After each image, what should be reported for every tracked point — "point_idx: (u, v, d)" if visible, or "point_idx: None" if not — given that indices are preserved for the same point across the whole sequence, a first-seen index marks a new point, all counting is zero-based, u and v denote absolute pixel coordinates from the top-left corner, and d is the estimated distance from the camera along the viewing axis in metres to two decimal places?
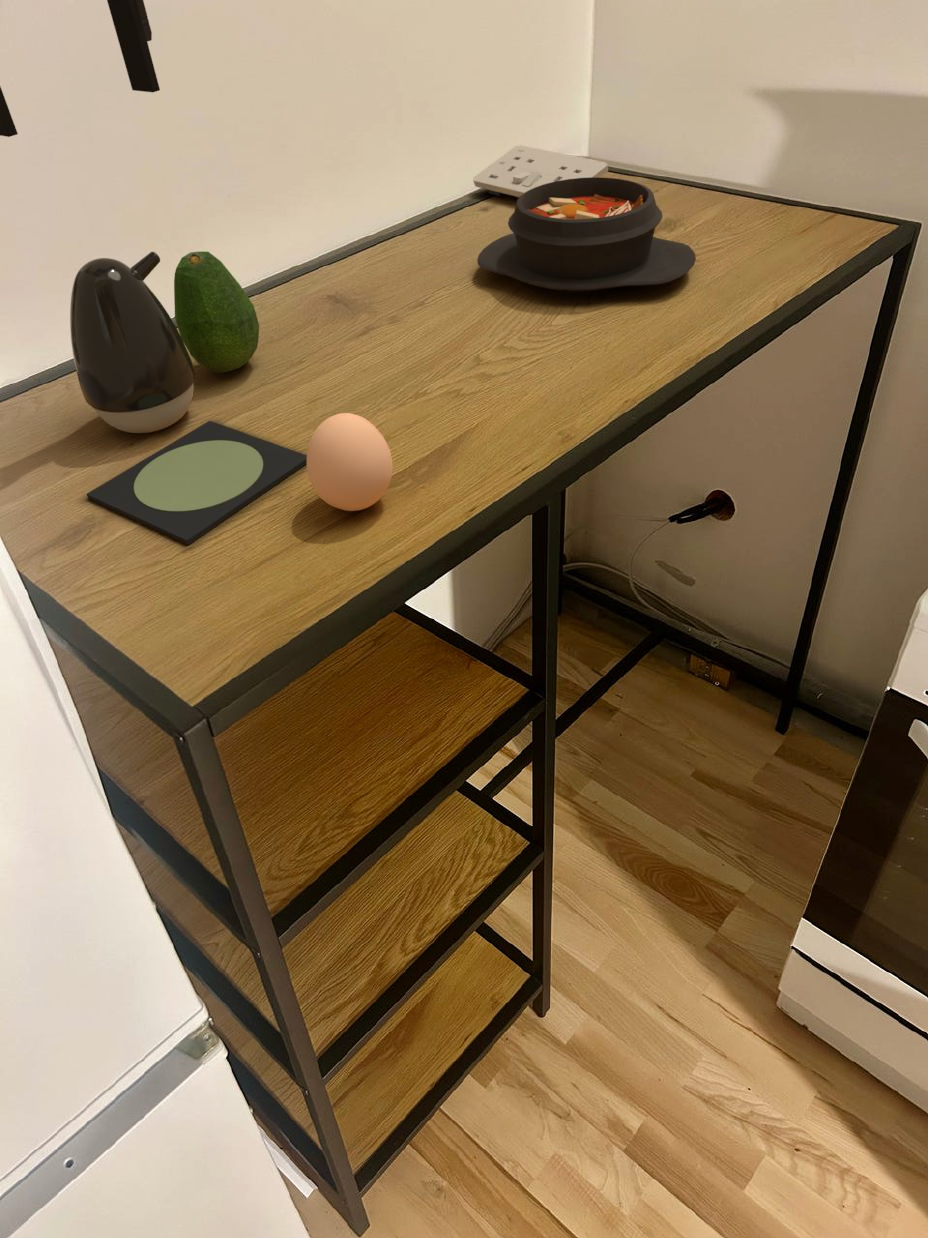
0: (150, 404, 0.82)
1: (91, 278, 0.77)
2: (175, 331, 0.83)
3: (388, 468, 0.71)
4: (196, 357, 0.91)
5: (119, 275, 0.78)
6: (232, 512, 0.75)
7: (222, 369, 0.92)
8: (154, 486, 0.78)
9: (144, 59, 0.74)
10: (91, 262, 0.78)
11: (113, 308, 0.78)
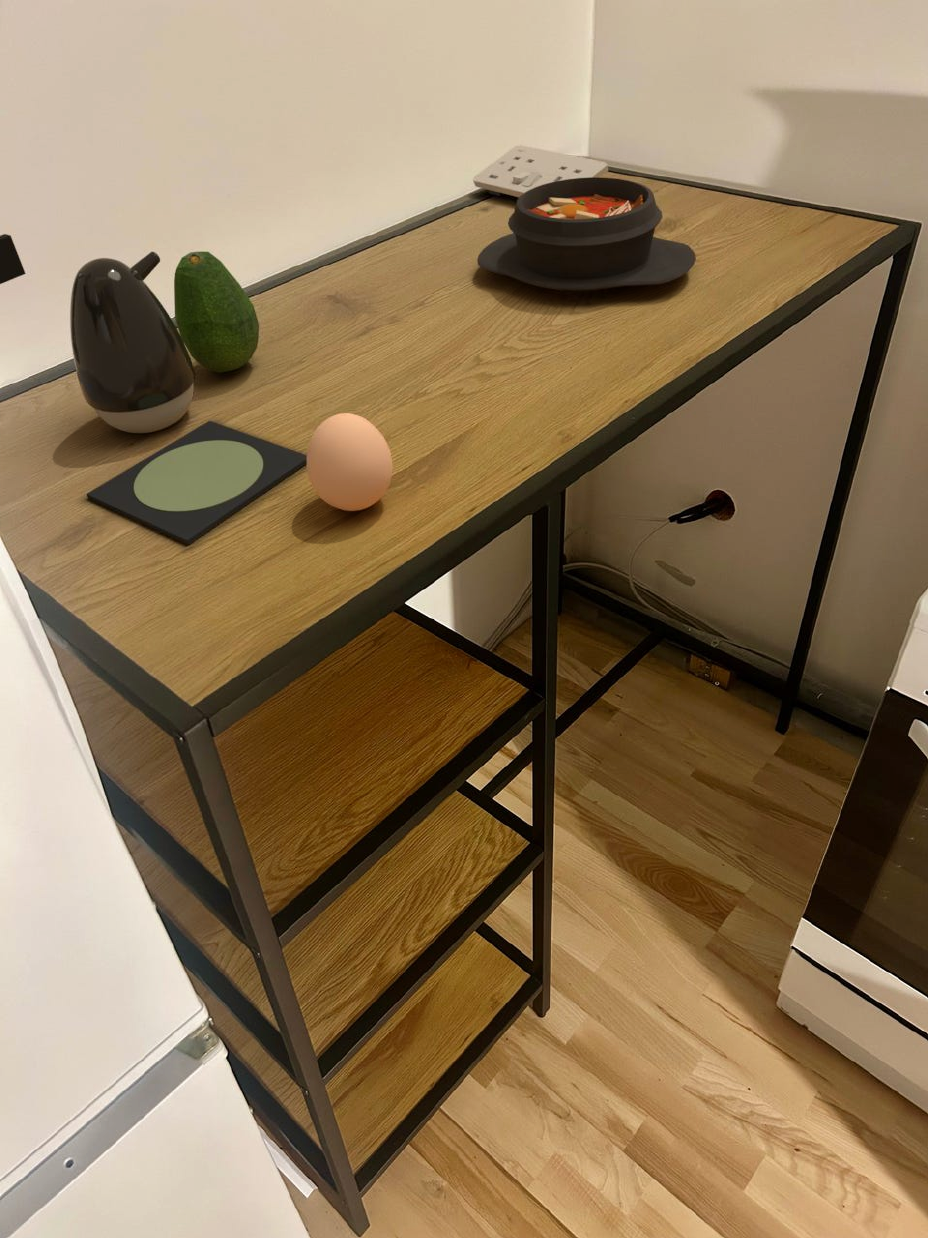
0: (150, 404, 0.82)
1: (91, 278, 0.77)
2: (175, 331, 0.83)
3: (388, 468, 0.71)
4: (196, 357, 0.91)
5: (119, 275, 0.78)
6: (232, 512, 0.75)
7: (222, 369, 0.92)
8: (154, 486, 0.78)
9: None
10: (91, 262, 0.78)
11: (113, 308, 0.78)
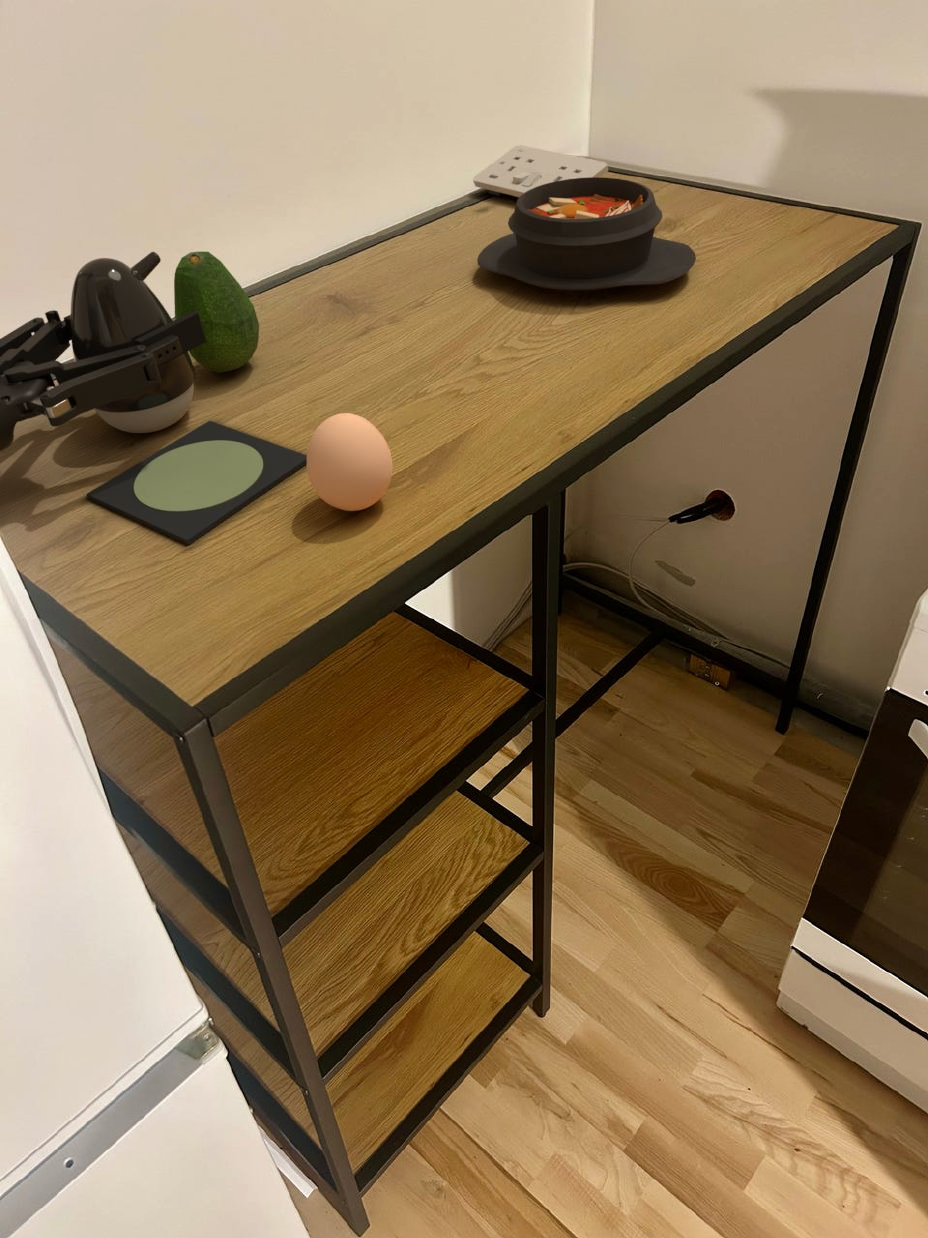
0: (150, 404, 0.82)
1: (91, 278, 0.77)
2: None
3: (388, 468, 0.71)
4: (196, 357, 0.91)
5: (119, 275, 0.78)
6: (232, 512, 0.75)
7: (222, 369, 0.92)
8: (154, 486, 0.78)
9: None
10: (91, 262, 0.78)
11: (113, 308, 0.78)
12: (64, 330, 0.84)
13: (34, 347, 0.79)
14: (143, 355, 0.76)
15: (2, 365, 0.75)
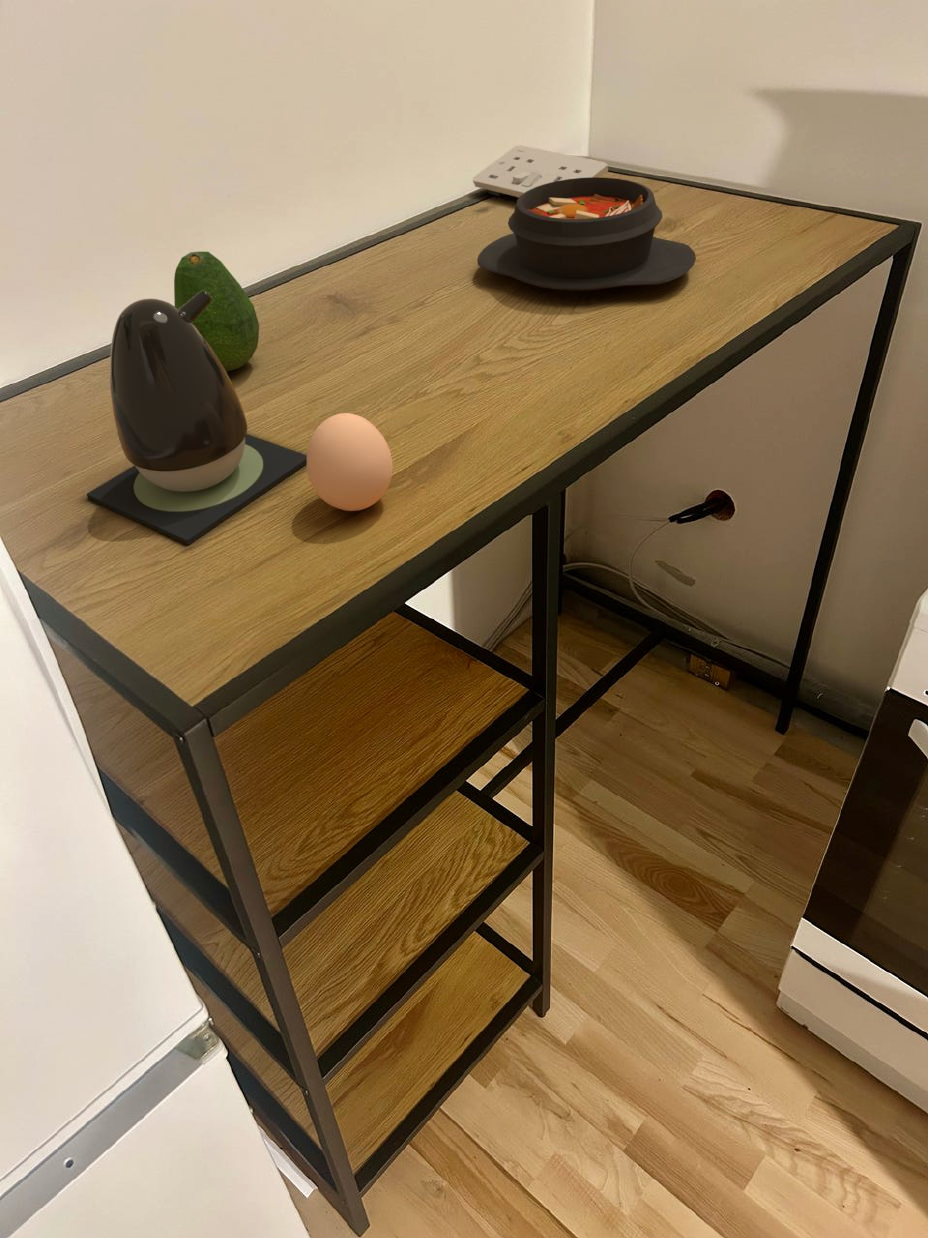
0: (199, 462, 0.73)
1: (135, 323, 0.68)
2: (227, 379, 0.73)
3: (388, 468, 0.71)
4: None
5: (167, 319, 0.68)
6: (232, 512, 0.75)
7: None
8: (154, 486, 0.78)
9: None
10: (135, 304, 0.69)
11: (160, 356, 0.68)
12: None
13: None
14: None
15: None
